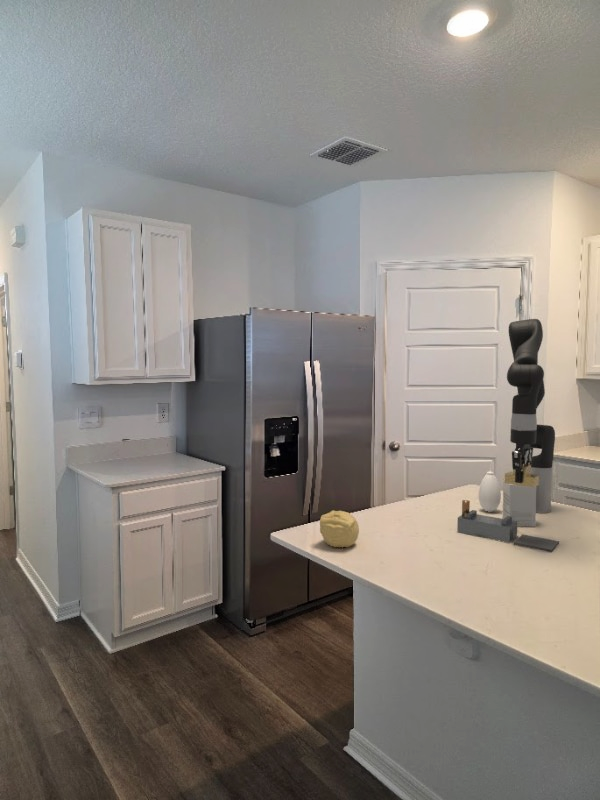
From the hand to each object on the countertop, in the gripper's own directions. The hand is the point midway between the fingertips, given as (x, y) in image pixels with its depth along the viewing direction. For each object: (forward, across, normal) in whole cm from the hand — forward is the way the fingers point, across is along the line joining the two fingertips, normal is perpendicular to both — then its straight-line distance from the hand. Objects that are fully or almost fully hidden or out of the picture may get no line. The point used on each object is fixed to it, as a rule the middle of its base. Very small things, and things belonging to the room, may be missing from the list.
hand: (521, 480), depth 168 cm
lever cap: (+1, 0, 0) cm, 1 cm away
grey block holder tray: (+19, 0, -11) cm, 22 cm away
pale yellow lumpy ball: (+20, +40, -42) cm, 61 cm away
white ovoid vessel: (+20, -28, -20) cm, 39 cm away
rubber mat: (+19, 0, +5) cm, 20 cm away
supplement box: (+20, -20, -7) cm, 29 cm away
